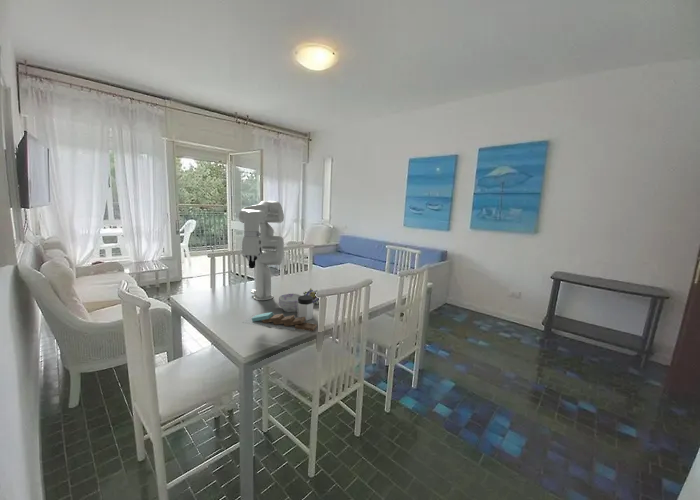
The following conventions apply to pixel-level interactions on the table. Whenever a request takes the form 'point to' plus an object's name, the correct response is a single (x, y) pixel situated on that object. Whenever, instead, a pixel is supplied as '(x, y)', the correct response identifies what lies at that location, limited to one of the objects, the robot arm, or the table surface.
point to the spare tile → (262, 316)
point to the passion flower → (312, 293)
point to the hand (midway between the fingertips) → (252, 267)
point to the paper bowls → (289, 302)
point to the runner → (269, 324)
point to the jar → (305, 307)
